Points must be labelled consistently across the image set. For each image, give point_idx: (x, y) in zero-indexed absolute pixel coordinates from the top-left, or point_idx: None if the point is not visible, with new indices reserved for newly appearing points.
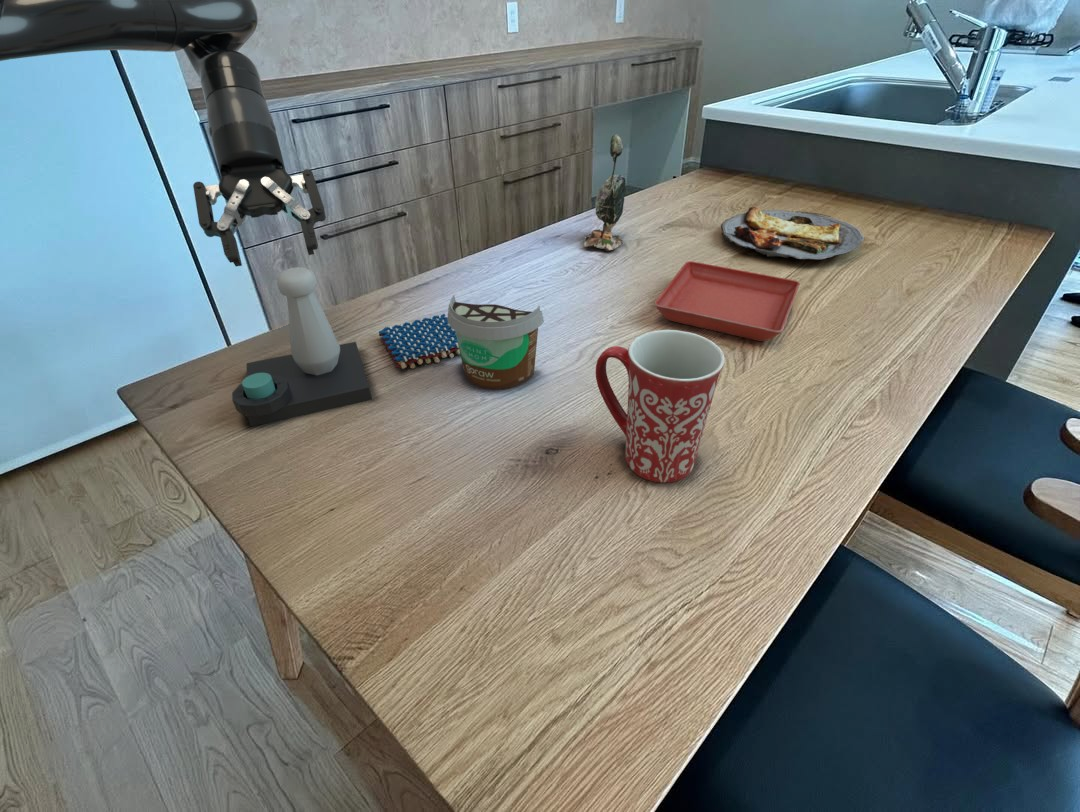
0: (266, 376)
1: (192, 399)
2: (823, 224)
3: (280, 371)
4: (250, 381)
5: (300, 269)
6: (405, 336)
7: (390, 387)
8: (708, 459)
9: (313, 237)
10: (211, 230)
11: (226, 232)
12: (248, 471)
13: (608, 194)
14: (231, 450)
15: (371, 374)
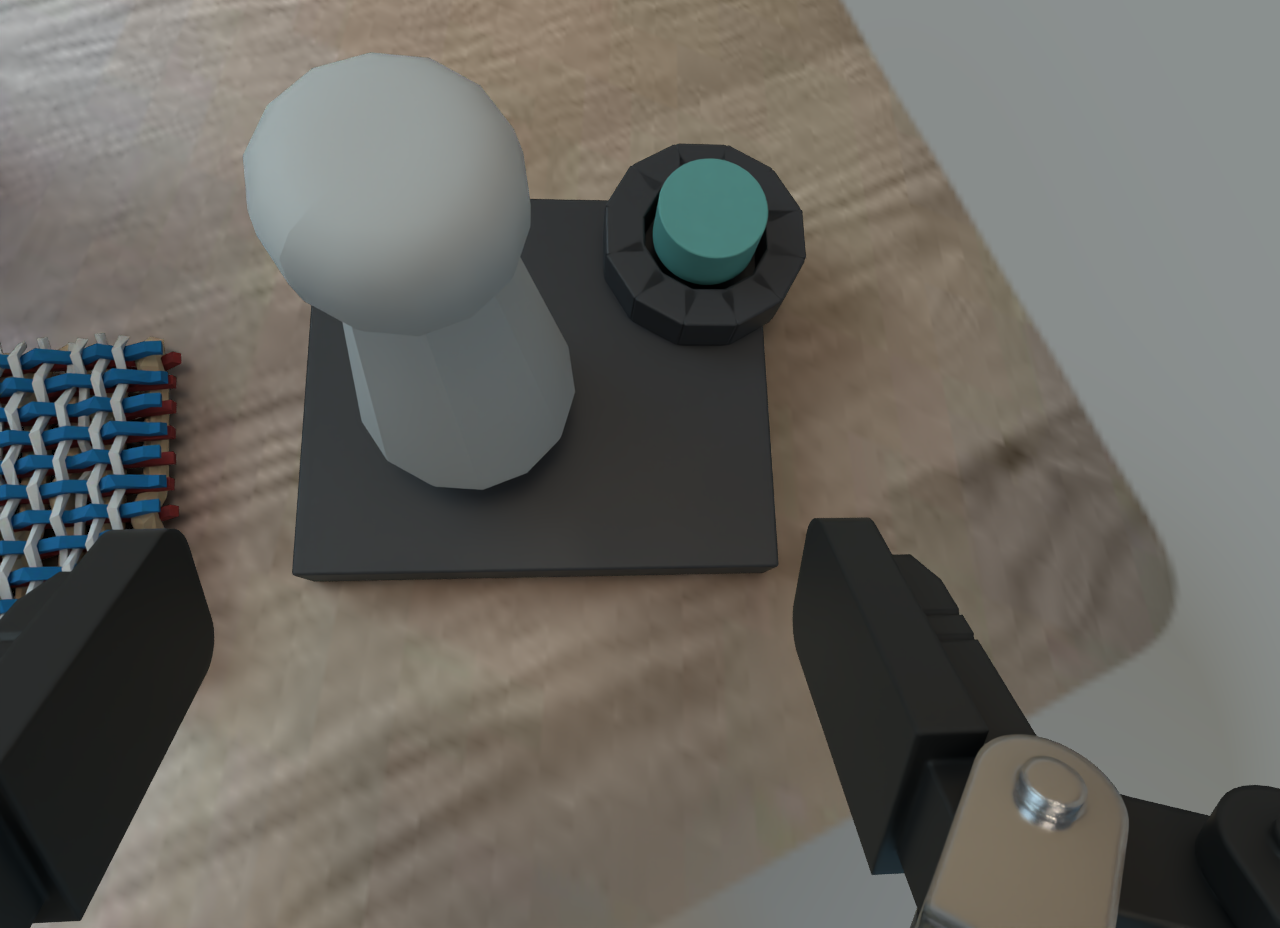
0: (677, 218)
1: (959, 479)
2: None
3: (639, 438)
4: (736, 207)
5: (318, 165)
6: (50, 538)
7: (251, 274)
8: None
9: (22, 626)
10: (1166, 811)
11: (971, 722)
12: (739, 39)
13: None
14: (794, 145)
15: (298, 390)
